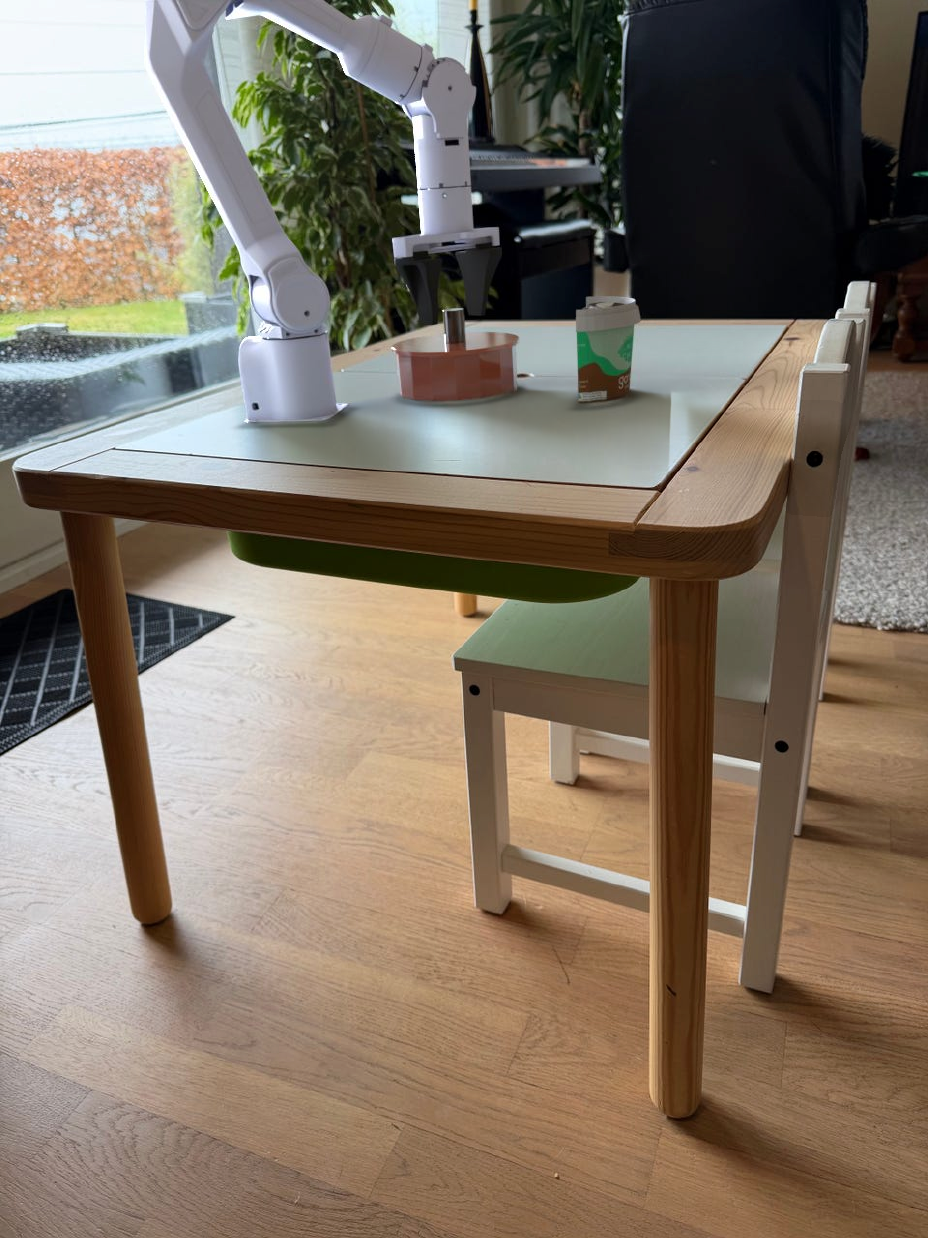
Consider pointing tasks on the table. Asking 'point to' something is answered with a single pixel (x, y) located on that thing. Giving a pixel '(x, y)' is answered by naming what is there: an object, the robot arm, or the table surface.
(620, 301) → the food container
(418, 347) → the cover
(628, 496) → the table surface
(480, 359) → the tin
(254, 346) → the robot arm
